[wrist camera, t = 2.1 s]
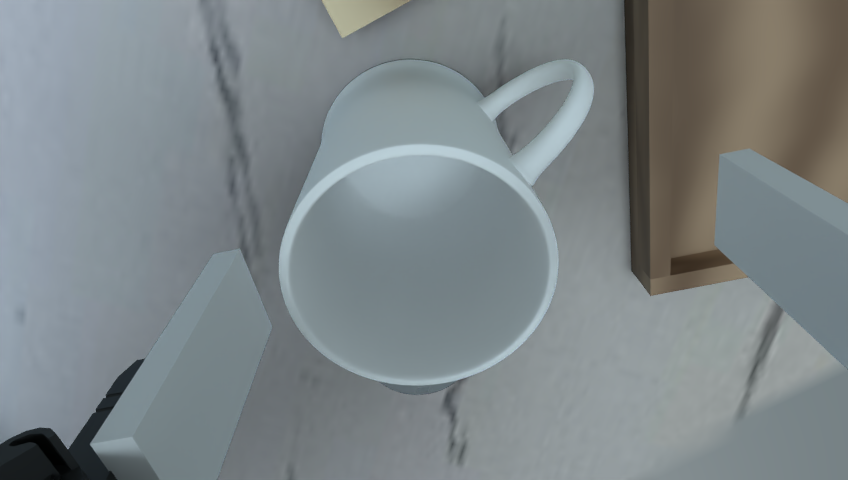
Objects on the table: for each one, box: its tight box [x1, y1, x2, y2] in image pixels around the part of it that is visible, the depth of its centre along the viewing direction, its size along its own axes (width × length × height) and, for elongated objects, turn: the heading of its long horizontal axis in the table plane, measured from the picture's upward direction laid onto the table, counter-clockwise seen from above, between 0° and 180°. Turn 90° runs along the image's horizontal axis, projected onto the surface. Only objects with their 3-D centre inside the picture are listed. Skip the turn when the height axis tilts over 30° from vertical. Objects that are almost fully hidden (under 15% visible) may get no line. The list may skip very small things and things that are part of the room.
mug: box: [279, 59, 594, 386], centre depth 20 cm, size 12×8×12 cm
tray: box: [625, 0, 848, 296], centre depth 25 cm, size 16×16×2 cm
